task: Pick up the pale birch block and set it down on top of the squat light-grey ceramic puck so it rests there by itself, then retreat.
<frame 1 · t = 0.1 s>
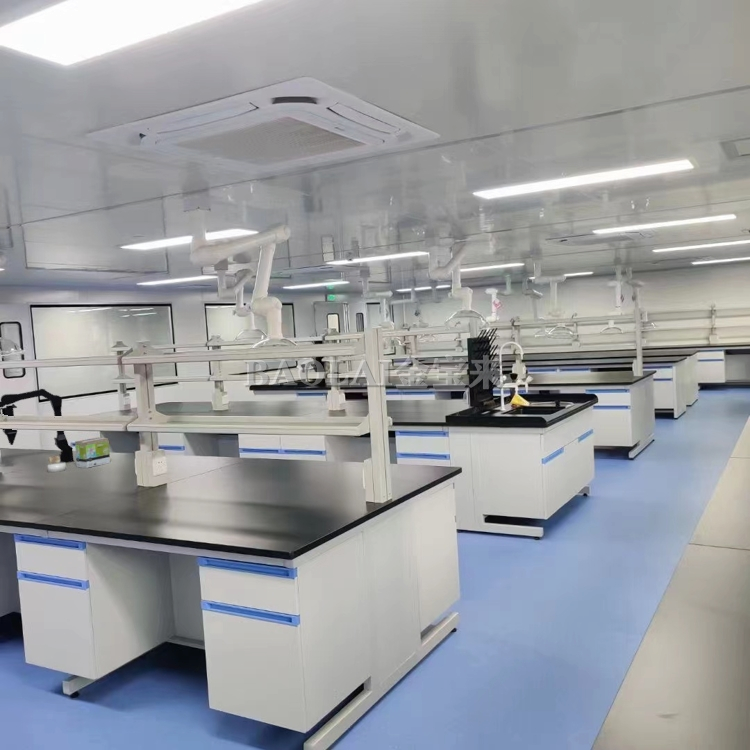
hand: (11, 443, 377), 15 cm above the countertop, fingers open, 9 cm apart
tea box: (93, 465, 377), on the countertop
ceramic puck: (57, 470, 367), on the countertop
birch block: (55, 467, 377), on the countertop
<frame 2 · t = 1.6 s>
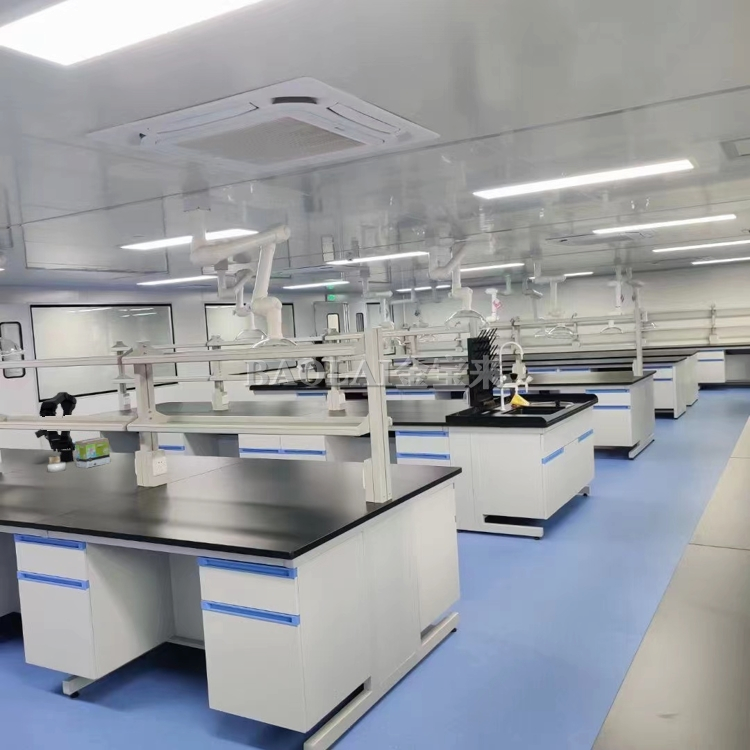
hand: (53, 450, 377), 10 cm above the countertop, fingers open, 9 cm apart
nothing on the countertop moved.
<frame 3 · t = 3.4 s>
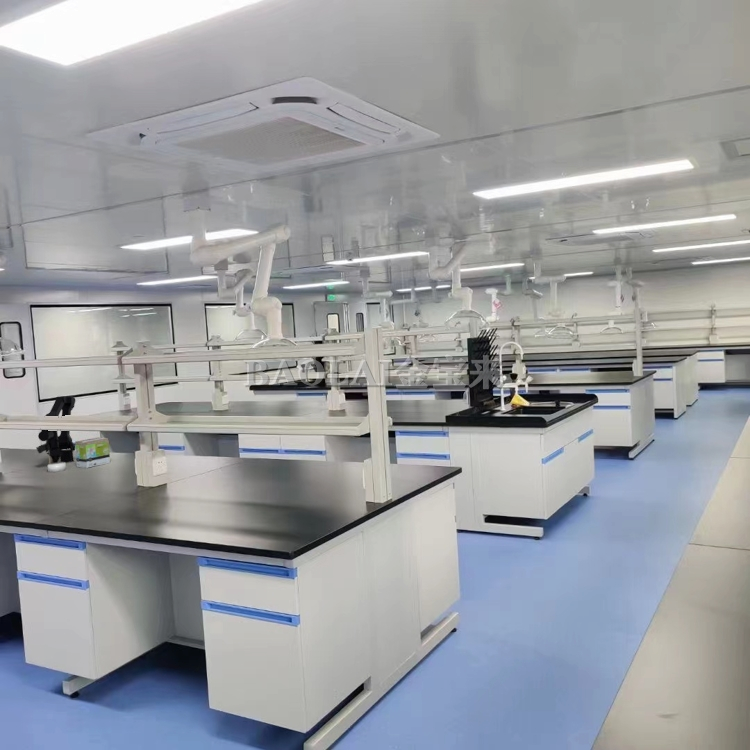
hand: (54, 465, 377), 1 cm above the countertop, fingers closed on birch block, 5 cm apart
birch block: (55, 467, 377), on the countertop, touching gripper
everything else where it was.
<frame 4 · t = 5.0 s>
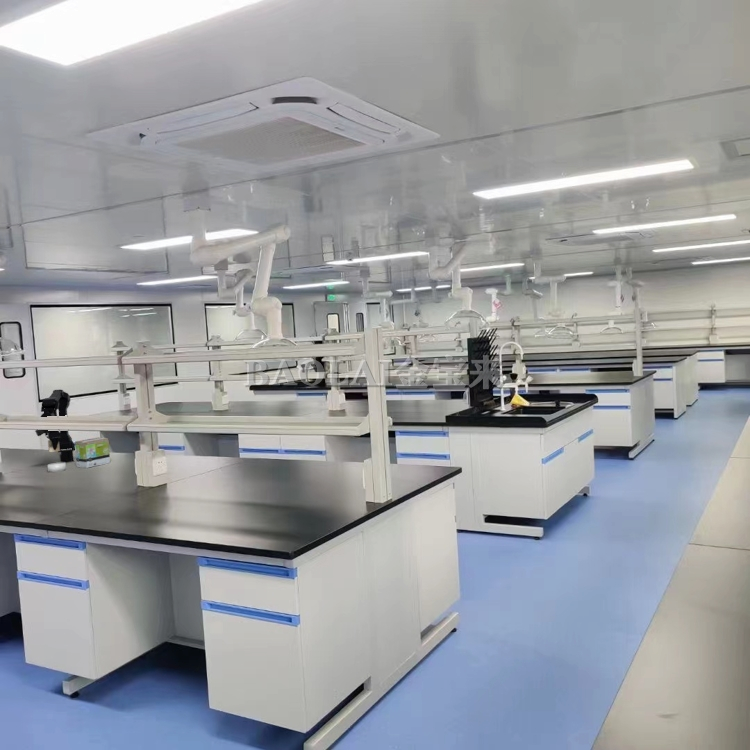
hand: (54, 449, 368), 12 cm above the countertop, fingers closed on birch block, 5 cm apart
birch block: (54, 451, 368), point 11 cm above the countertop, touching gripper
everything else where it was.
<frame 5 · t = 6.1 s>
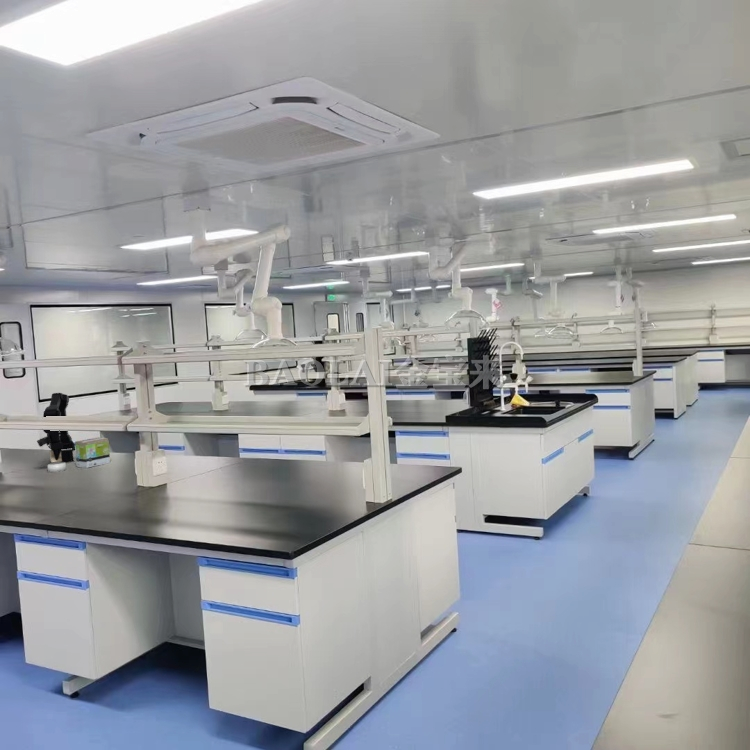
hand: (56, 459, 367), 6 cm above the countertop, fingers closed on birch block, 5 cm apart
birch block: (56, 461, 367), point 5 cm above the countertop, touching gripper
everything else where it was.
when the fingers open (6 cm above the countertop, at t = 6.9 s): birch block drops 1 cm, resting on ceramic puck.
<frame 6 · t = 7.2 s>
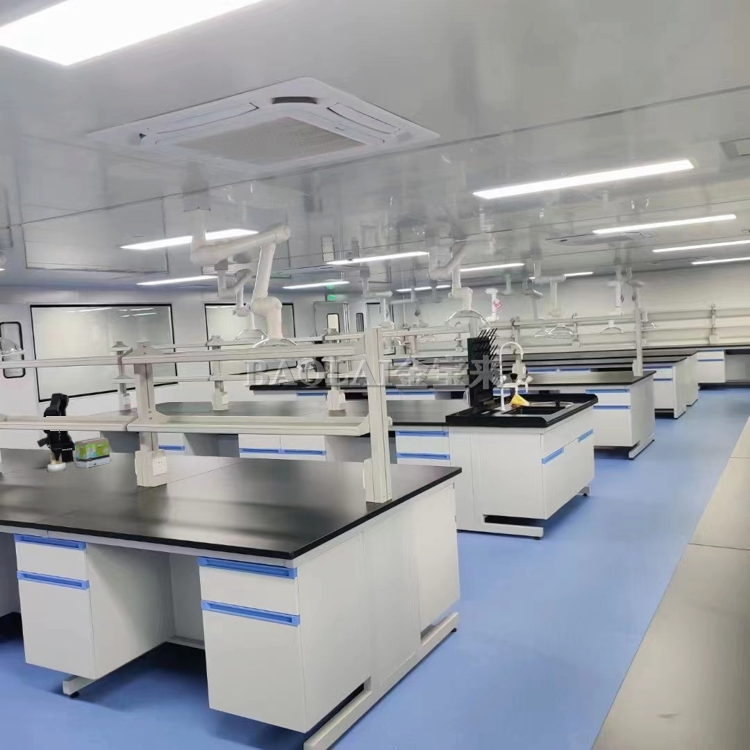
hand: (56, 459, 367), 6 cm above the countertop, fingers open, 8 cm apart
ceramic puck: (57, 470, 367), on the countertop, touching birch block
birch block: (56, 463, 367), point 4 cm above the countertop, touching ceramic puck
everything else where it was.
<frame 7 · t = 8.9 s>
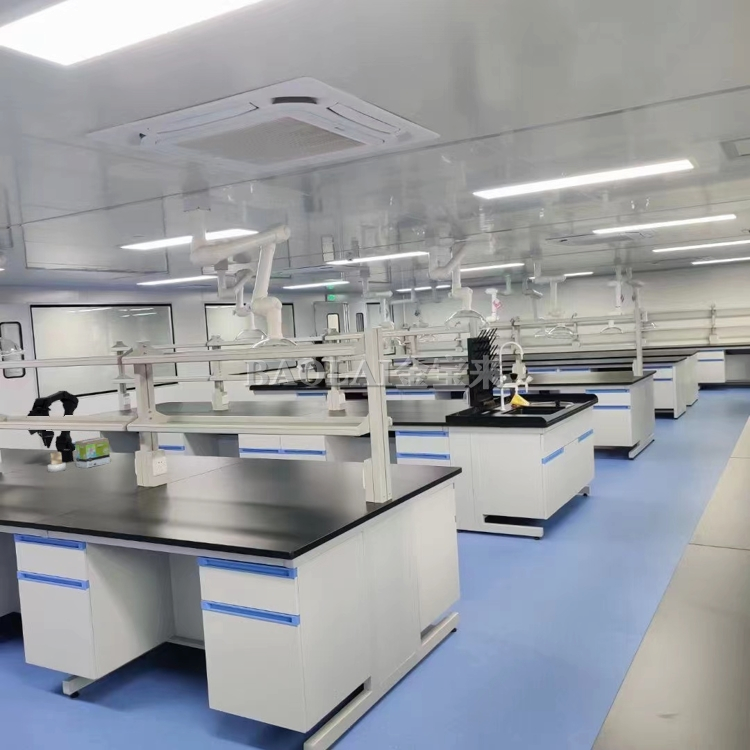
hand: (47, 447, 377), 12 cm above the countertop, fingers open, 9 cm apart
nothing on the countertop moved.
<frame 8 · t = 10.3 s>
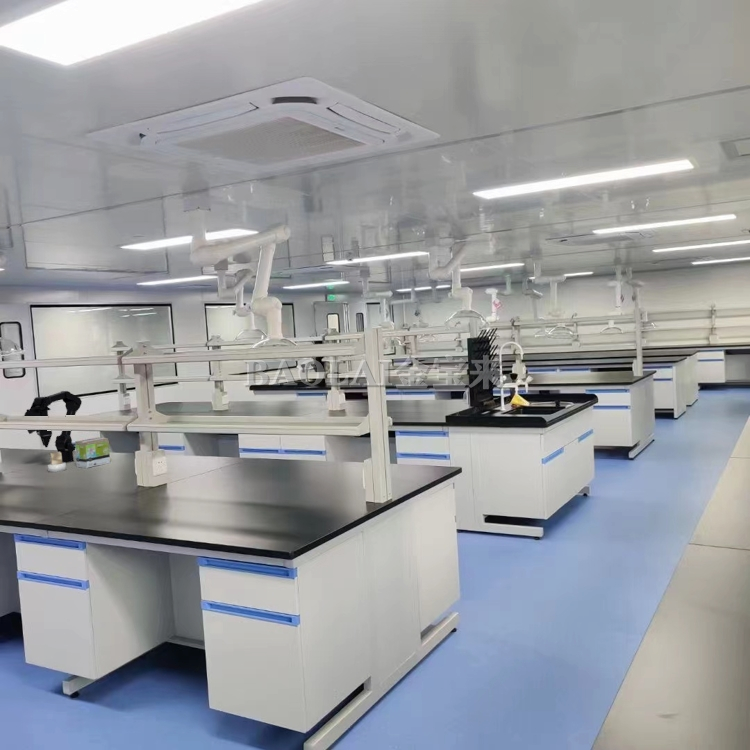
hand: (45, 446, 378), 12 cm above the countertop, fingers open, 9 cm apart
nothing on the countertop moved.
at the end: birch block 0.1 cm off-centre on the ceramic puck, point 4.0 cm above the ceramic puck's base; birch block tilted 0°; birch block touching ceramic puck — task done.
